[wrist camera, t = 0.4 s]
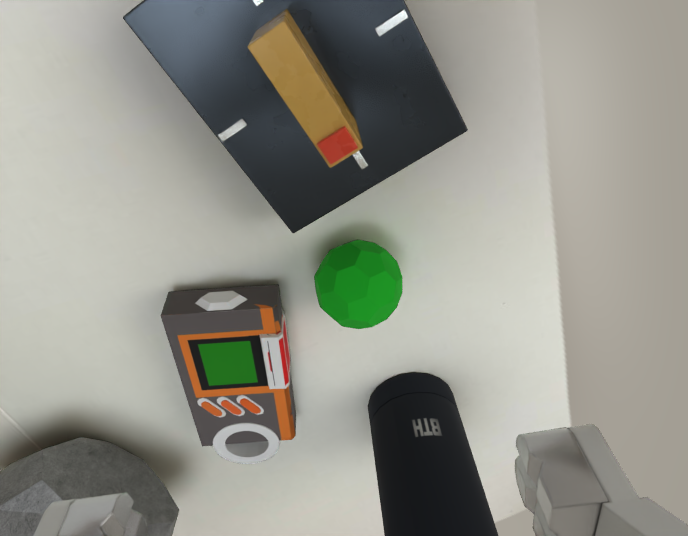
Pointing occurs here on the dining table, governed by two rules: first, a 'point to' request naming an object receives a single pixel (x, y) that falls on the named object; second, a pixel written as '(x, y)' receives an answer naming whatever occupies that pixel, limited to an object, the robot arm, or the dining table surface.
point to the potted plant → (81, 485)
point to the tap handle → (306, 88)
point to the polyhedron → (358, 284)
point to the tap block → (275, 116)
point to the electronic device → (234, 368)
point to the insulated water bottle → (425, 461)
